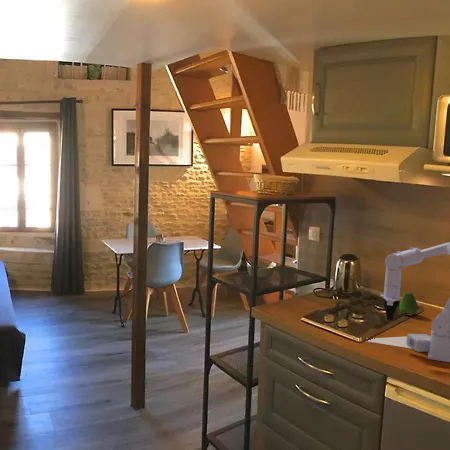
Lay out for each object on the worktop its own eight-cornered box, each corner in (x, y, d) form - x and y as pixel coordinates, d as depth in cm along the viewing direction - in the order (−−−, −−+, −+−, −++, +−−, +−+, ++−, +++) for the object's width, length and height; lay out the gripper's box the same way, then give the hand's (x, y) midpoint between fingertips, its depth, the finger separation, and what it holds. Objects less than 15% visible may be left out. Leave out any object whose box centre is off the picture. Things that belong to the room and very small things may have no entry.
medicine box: (416, 352, 188) (437, 352, 190) (418, 340, 188) (439, 340, 189) (405, 344, 196) (426, 344, 197) (407, 333, 195) (427, 333, 197)
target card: (415, 334, 210) (415, 333, 210) (413, 349, 192) (413, 348, 192) (365, 326, 217) (365, 326, 217) (359, 340, 199) (360, 340, 199)
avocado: (395, 315, 238) (397, 290, 236) (407, 314, 241) (410, 289, 239) (407, 320, 230) (409, 294, 229) (420, 319, 233) (422, 293, 232)
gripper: (383, 280, 200) (380, 313, 201) (379, 287, 186) (377, 323, 188) (401, 282, 197) (399, 316, 198) (399, 289, 184) (397, 325, 185)
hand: (389, 319), depth 193 cm, fingers closed
